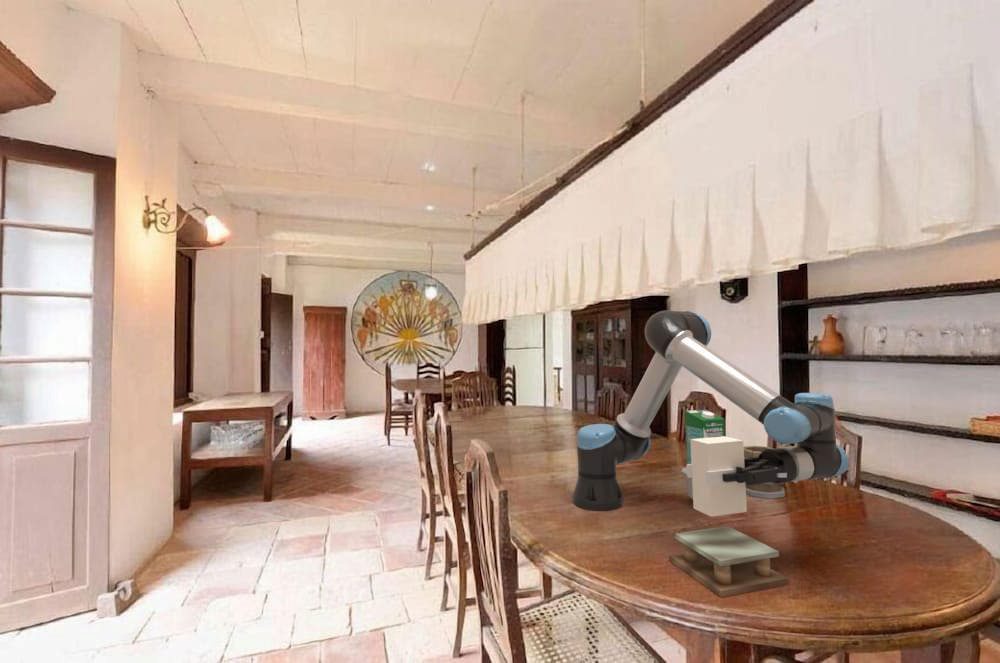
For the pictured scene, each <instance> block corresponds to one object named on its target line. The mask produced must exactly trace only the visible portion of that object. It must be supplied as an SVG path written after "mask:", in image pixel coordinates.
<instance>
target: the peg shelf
mask: <svg viewBox="0 0 1000 663" xmlns="http://www.w3.org/2000/svg"><path fill="white" fill-rule="evenodd" d="M674 539H676V540H677V541H678V542H681V543H682V552H681V553H674V554H669V555H668V560H669V562H670V563H672V564H674V566H676V567H677V568H679V569H680V570H681V571H683V572H685V573H686V574H688V575H689V576H691V578H693V579H695V580H696V581H697V582H698V583H700V584H701V585H702V586H704V587H706V588H707V589H709V590H710V592H711V591H712V592H713V593H714V594H716V595H717V596H718V597H720V598H725V597H731V596H736V595H742V594H746V593H752V592H757V591H763V590H767V589H772V588H779V587H783V586H787V585H790V584H789V583H790V582H789V578H788V577H787V576H785V575H783V574H781V573H779V572H778V571H776V570H774V569H772V568H771V558H772V559H773V558H777V557H780V551H779V550H777V549H775V548H772V547H771V546H769V545H767V544H765V543H763V542H761V541H759V540H756V539H755V538H753V537H751V536H749V535H747V534H744V533H743V532H740V531H739V530H736V529H734V528H732V527H731V526H729V525H725V526H716V527H711V528H704V529H697V530H691V531H690V530H689V531H683V532H675V533H674Z"/></svg>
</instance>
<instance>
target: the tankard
mask: <svg viewBox="0 0 1000 663" xmlns="http://www.w3.org/2000/svg"><path fill="white" fill-rule="evenodd" d="M792 446H793V445H792V444H782V443H781V444H780V445H779V446H778V447H777V448H781V447H792ZM766 449H774V448H773V447H769V446H762V445H745V446H744V458H750V457H758V456H759V455H760V453H761V452H762V451H764V450H766ZM745 484H746V482H745ZM781 484H783V483H779V484H775V483H771V482H769V483H762V484H755V485H747V484H746V496H750V497H752V498H759V499H766V500H767V499H769V500H774V499H781V498H783V499H784V498H786V492H785V491H786V490H785V487H784V486H781Z"/></svg>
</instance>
